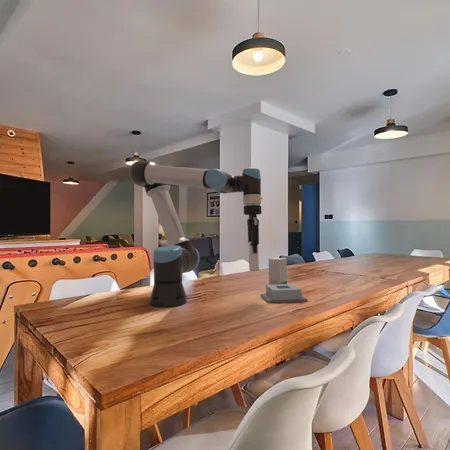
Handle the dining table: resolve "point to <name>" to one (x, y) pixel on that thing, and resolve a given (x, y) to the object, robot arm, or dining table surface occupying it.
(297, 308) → the dining table surface
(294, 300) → the socket
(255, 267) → the dowel
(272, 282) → the skincare box
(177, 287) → the robot arm
